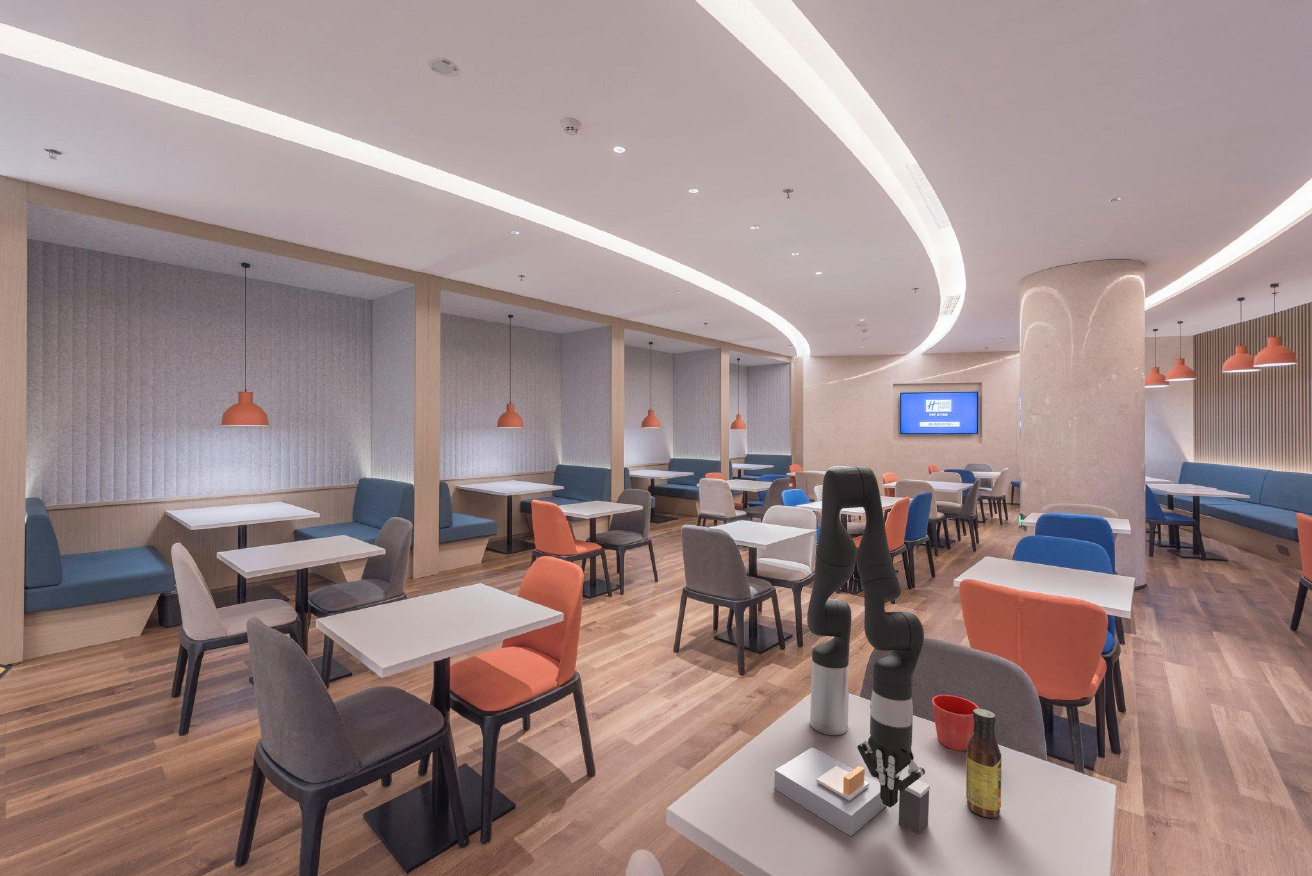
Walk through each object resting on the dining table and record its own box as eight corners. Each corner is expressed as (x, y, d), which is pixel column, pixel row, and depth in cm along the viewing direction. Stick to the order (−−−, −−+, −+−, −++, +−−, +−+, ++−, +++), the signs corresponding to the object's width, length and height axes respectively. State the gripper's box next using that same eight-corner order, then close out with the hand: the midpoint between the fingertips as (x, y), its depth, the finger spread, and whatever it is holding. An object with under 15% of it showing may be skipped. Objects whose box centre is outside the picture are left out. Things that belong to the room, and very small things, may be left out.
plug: (907, 814, 111) (909, 775, 111) (928, 825, 108) (929, 785, 108) (898, 823, 109) (899, 783, 109) (919, 835, 106) (920, 793, 106)
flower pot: (920, 736, 141) (922, 698, 141) (949, 727, 146) (951, 691, 146) (959, 759, 131) (960, 718, 131) (988, 749, 136) (990, 710, 136)
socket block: (811, 764, 127) (812, 747, 127) (886, 805, 114) (887, 786, 114) (774, 788, 118) (774, 770, 118) (850, 836, 105) (851, 815, 105)
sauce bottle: (1005, 822, 110) (1009, 723, 110) (971, 817, 111) (974, 719, 111) (992, 801, 116) (995, 708, 116) (960, 796, 117) (963, 704, 117)
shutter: (836, 768, 119) (836, 751, 119) (868, 785, 113) (869, 768, 113) (816, 781, 114) (817, 764, 114) (849, 800, 108) (850, 782, 108)
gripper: (935, 723, 104) (932, 814, 104) (869, 696, 114) (866, 779, 114) (917, 737, 99) (914, 832, 99) (849, 707, 109) (847, 794, 109)
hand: (888, 804), depth 106 cm, fingers closed
